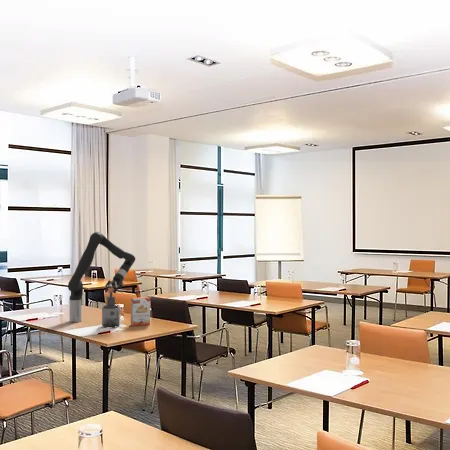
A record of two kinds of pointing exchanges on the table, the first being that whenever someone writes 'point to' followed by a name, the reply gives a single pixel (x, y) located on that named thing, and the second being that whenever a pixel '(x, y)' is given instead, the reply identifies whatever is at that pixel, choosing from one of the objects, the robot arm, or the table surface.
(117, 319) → the detonator box
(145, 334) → the table surface
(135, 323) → the cracker box
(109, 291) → the plunger
